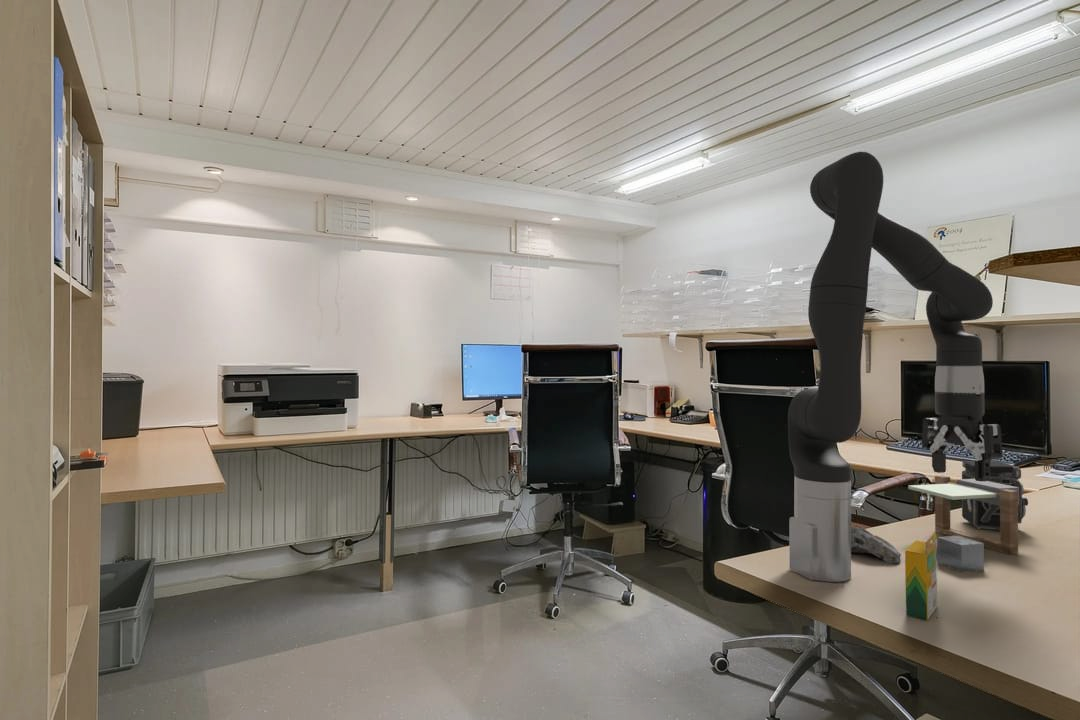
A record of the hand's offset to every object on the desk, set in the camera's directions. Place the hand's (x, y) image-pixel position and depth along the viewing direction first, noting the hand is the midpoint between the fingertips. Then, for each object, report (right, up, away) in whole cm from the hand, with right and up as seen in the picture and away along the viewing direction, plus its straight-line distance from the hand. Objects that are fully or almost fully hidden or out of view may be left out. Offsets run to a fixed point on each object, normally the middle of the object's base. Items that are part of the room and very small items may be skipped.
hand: (960, 476), depth 108 cm
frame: (+14, -17, +15) cm, 27 cm away
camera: (+27, -17, +26) cm, 41 cm away
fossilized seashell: (-13, -17, +7) cm, 23 cm away
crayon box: (-20, -17, -20) cm, 33 cm away
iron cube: (0, -17, 0) cm, 17 cm away
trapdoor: (+11, -8, +15) cm, 20 cm away
